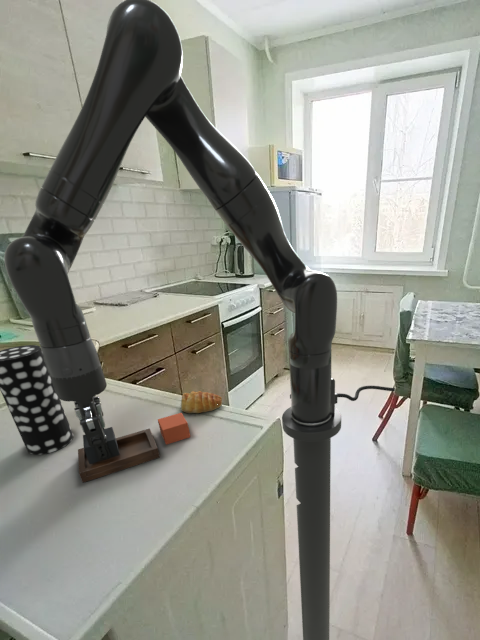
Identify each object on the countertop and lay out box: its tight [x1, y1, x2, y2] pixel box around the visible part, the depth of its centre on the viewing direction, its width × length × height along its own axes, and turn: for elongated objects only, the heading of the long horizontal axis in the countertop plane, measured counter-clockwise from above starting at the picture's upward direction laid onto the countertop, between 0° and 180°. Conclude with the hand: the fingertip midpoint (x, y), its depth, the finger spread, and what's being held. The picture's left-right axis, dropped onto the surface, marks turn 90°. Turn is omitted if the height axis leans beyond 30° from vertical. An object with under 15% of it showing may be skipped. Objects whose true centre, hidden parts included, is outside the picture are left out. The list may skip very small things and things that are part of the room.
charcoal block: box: [82, 426, 120, 464], centre depth 65 cm, size 5×5×4 cm
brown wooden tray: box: [77, 427, 161, 484], centre depth 67 cm, size 13×8×2 cm, turn 120°
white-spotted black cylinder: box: [0, 344, 74, 456], centre depth 69 cm, size 8×8×20 cm
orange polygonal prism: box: [157, 412, 191, 445], centre depth 73 cm, size 5×5×4 cm
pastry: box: [180, 390, 223, 414], centre depth 83 cm, size 9×7×4 cm
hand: (103, 450), depth 65 cm, fingers closed on charcoal block, 5 cm apart
